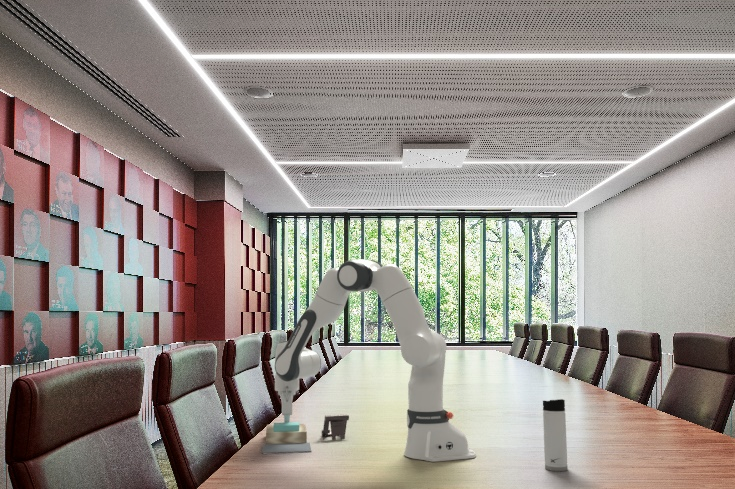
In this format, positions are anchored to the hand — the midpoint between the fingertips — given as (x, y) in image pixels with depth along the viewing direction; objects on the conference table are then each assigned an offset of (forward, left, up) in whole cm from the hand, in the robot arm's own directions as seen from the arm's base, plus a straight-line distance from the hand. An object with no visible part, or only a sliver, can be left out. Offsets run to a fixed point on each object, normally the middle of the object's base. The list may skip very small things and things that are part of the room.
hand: (286, 424), depth 223 cm
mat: (0, +16, -5) cm, 17 cm away
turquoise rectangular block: (0, +4, -1) cm, 5 cm away
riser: (0, +1, -5) cm, 5 cm away
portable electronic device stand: (-18, 0, -6) cm, 19 cm away
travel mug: (-77, +56, -5) cm, 95 cm away
